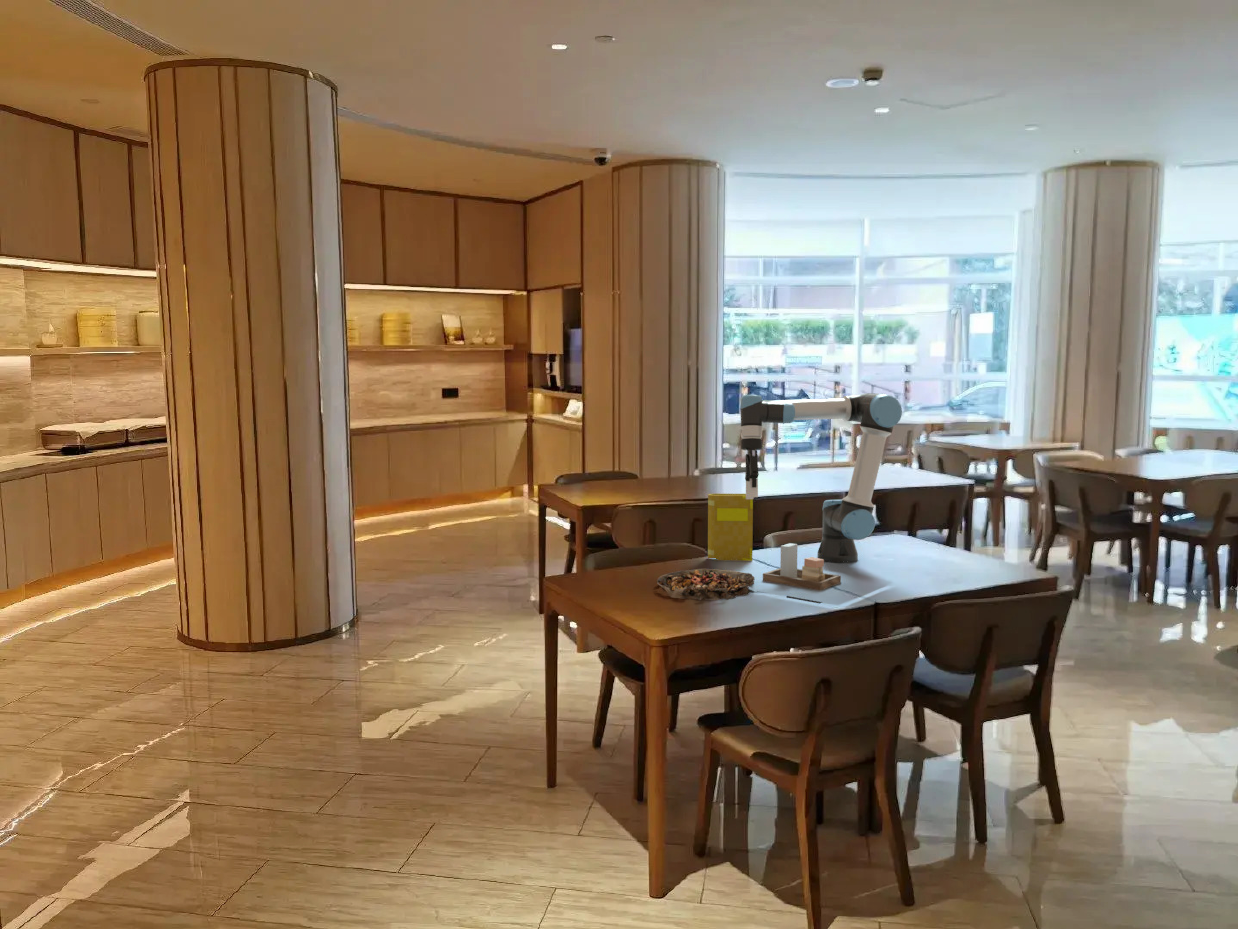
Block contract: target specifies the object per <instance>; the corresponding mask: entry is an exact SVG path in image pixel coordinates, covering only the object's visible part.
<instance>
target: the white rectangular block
mask: <svg viewBox="0 0 1238 929" xmlns="http://www.w3.org/2000/svg"><path fill="white" fill-rule="evenodd" d="M797 569H798V544H797V543H791V542H789V543H786V544H784V545H783V544H782V545H780V576H786V577H792V578H797Z"/></svg>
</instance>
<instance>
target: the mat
mask: <svg viewBox="0 0 1238 929" xmlns="http://www.w3.org/2000/svg"><path fill="white" fill-rule="evenodd" d="M786 598H787V599H792V600H798V601H803V602H809V603H815V604H822V603H823V602H822V601H816V600H813V599H812V600H811V599H807V598H801V597H795V596H790V595H786Z"/></svg>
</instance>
